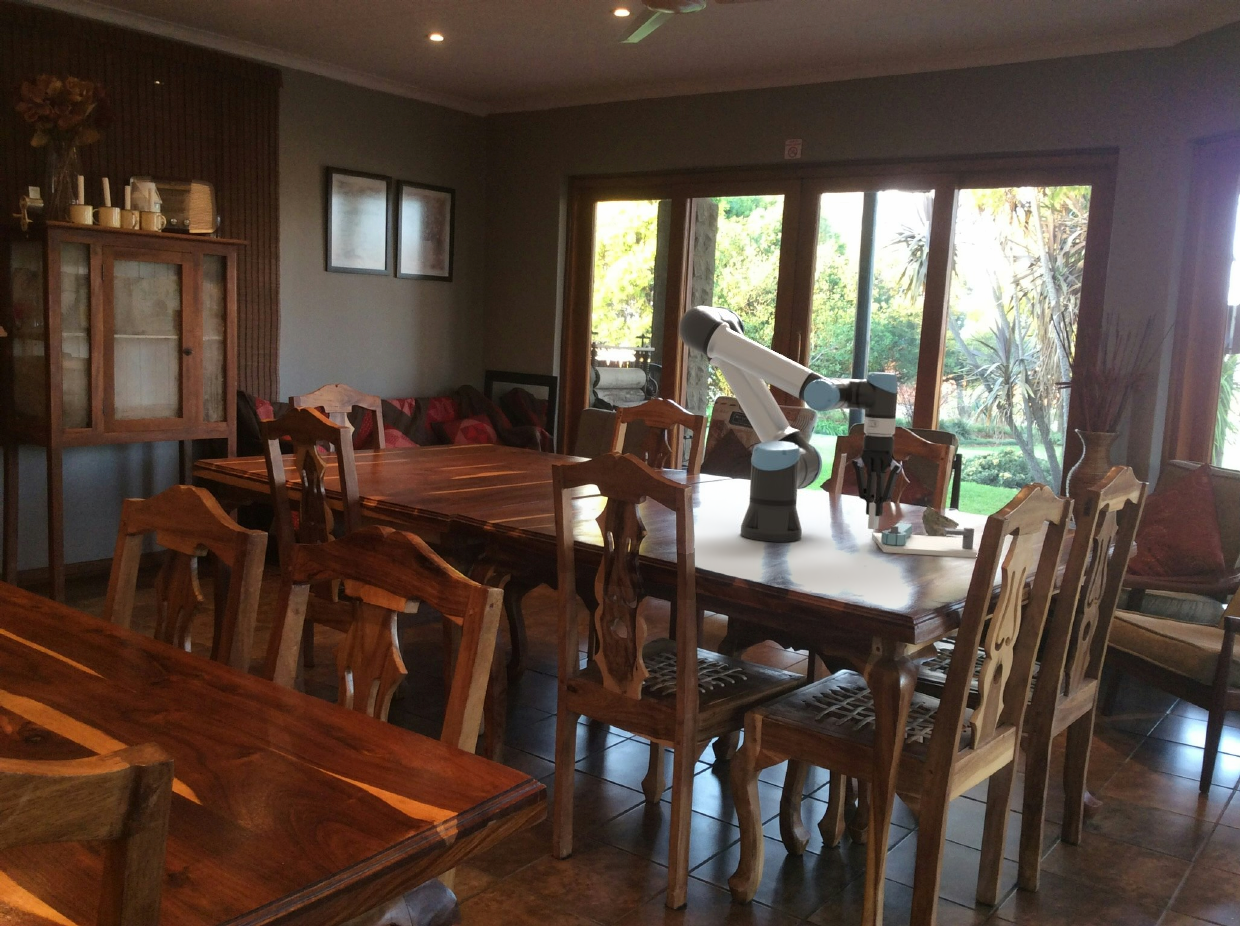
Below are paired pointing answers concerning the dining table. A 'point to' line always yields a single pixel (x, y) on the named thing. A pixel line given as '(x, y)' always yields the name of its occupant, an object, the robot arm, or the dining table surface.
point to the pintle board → (933, 543)
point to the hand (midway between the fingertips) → (873, 528)
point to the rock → (936, 522)
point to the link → (897, 535)
